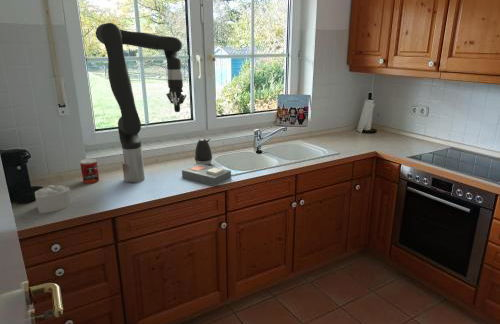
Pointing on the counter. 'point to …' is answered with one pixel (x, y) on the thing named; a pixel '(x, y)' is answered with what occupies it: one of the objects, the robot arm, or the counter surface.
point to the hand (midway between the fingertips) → (177, 111)
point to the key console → (206, 175)
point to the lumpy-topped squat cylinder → (52, 198)
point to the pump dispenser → (203, 152)
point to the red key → (197, 168)
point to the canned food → (89, 171)
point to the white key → (215, 171)
